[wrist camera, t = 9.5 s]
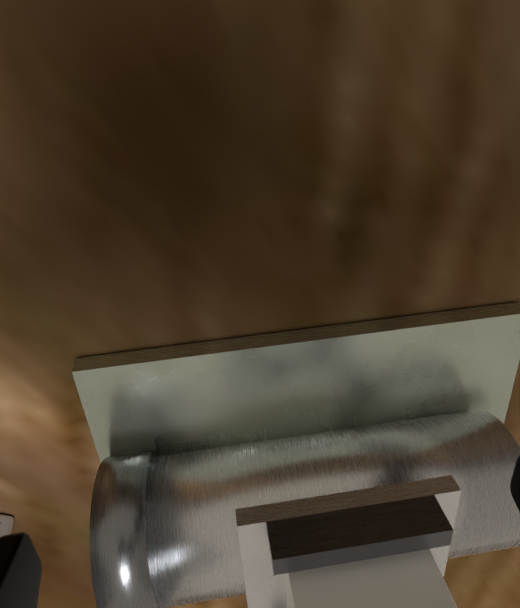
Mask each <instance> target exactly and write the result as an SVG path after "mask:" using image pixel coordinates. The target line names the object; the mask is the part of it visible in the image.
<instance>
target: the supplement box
mask: <svg viewBox="0 0 520 608" xmlns="http://www.w3.org/2000/svg"><path fill="white" fill-rule="evenodd" d="M13 523H14V518H13V517H12V516H7V515H0V537H2V536H4V535H8V534H11V531H12V527H13Z"/></svg>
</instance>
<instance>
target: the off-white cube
mask: <svg viewBox="0 0 520 608" xmlns="http://www.w3.org/2000/svg"><path fill="white" fill-rule="evenodd" d="M285 578H286V593H287V608H458V607H457V605H456V603H455V601H454V599H453V597H452V595H451V593H450V591H449V589H448V587H447V584H446V582H445V580H444V578H443V576H442V574H441V572H440V570H439V568H438V566H437V564H436V561H435V559H434V557H433V555H432V553H431V551H430V549H426V550H420V551H414V552H408V553H402V554H396V555H390V556H385V557H379V558H373V559H367V560H361V561H355V562H350V563H344V564H338V565H332V566H326V567H320V568H314V569H309V570H303V571H297V572H291V573H285Z"/></svg>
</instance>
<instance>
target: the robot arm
mask: <svg viewBox="0 0 520 608" xmlns="http://www.w3.org/2000/svg"><path fill="white" fill-rule="evenodd" d="M510 491H511V494H512V497H513V500H514V502H515V504H516V506H517V508H518V510H519V512H520V456H519V457H518V458H517V460H516V463H515V467H514V471H513V475H512V478H511V482H510ZM41 572H42V568H41V561H40V558H39V556H38V554H37V552H36V550H35V547H34V545H33V543H32V541H31V539H30V537H29V535H28V534H26V533H25V532H21V533H14V534H8V535H4V536H2V537H0V608H37V603H38V595H39V588H40V581H41Z"/></svg>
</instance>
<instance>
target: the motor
mask: <svg viewBox="0 0 520 608" xmlns="http://www.w3.org/2000/svg"><path fill="white" fill-rule="evenodd" d="M519 359H520V304H519V303H518V302H513V303H505V304H497V305H489V306H481V307H474V308H466V309H458V310H450V311H442V312H434V313H426V314H419V315H411V316H403V317H395V318H387V319H379V320H371V321H364V322H356V323H348V324H340V325H332V326H324V327H316V328H308V329H301V330H293V331H285V332H277V333H269V334H261V335H253V336H246V337H238V338H230V339H222V340H214V341H206V342H198V343H191V344H183V345H175V346H167V347H159V348H151V349H143V350H136V351H128V352H120V353H112V354H104V355H96V356H88V357H81V358H76V361H75V364H74V367H73V370H72V374H73V377H74V381H75V384H76V387H77V390H78V393H79V396H80V400H81V403H82V406H83V409H84V412H85V415H86V419H87V422H88V425H89V428H90V431H91V434H92V437H93V441H94V444H95V447H96V450H97V453H98V456H99V460H100V463H101V464H100V466H99V469H98V472H97V475H96V479H95V483H94V488H93V495H92V502H91V513H90V562H91V574H92V582H93V589H94V594H95V599H96V603H97V607H98V608H168V607H173V606H179V605H185V604H191V603H196V602H202V601H208V600H214V599H219V598H225V597H231V596H237V595H242V594H246V596H247V603H248V608H287V593H286V578H285V573H291V572H297V571H303V570H309V569H314V568H320V567H326V566H332V565H338V564H344V563H350V562H355V561H361V560H367V559H373V558H379V557H385V556H390V555H396V554H402V553H408V552H414V551H420V550H426V549H430V551H431V553H432V555H433V557H434V559H435V561H436V564H437V566H438V568H439V570H440V572H441V574H442V576H443V578H444V573H445V568H446V563H447V559H450V558H456V557H462V556H467V555H473V554H479V553H485V552H491V551H496V550H502V549H508V548H514V547H519V546H520V512H519V510H518V508H517V506H516V504H515V502H514V500H513V497H512V494H511V491H510V482H511V478H512V475H513V471H514V467H515V463H516V460H517V458H518V457H519V456H520V448H519V446H518V444H517V442H516V441H515V439H514V438H513V436H512V435H511V433H510V432H509V430H508V429H507V428H506V427H505V425H504V421H505V417H506V413H507V409H508V405H509V401H510V397H511V392H512V388H513V384H514V380H515V376H516V372H517V368H518V364H519Z"/></svg>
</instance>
